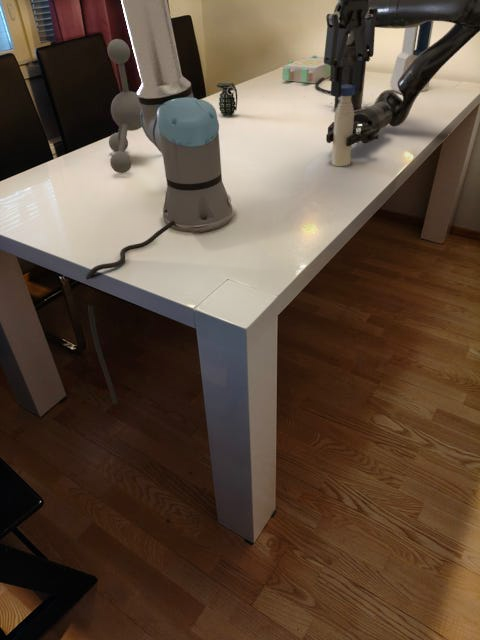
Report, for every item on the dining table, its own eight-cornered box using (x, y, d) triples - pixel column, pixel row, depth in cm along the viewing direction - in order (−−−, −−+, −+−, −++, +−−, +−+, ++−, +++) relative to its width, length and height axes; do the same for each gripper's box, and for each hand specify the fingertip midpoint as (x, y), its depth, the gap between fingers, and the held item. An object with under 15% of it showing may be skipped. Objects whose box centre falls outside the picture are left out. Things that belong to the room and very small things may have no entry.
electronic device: (398, 94, 180) (412, -3, 162) (388, 89, 186) (400, -5, 168) (428, 90, 183) (445, -6, 164) (417, 86, 188) (432, -7, 170)
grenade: (217, 117, 168) (214, 86, 162) (221, 112, 172) (219, 82, 166) (235, 117, 166) (233, 86, 160) (239, 113, 171) (238, 82, 165)
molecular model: (195, 164, 133) (181, 39, 115) (114, 179, 127) (87, 50, 109) (172, 140, 150) (157, 28, 132) (101, 152, 145) (75, 37, 126)
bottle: (333, 159, 132) (338, 87, 121) (351, 160, 130) (357, 87, 119) (330, 165, 128) (334, 92, 117) (348, 166, 127) (355, 92, 116)
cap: (344, 91, 121) (345, 83, 120) (357, 93, 119) (358, 85, 118) (334, 94, 119) (335, 87, 118) (347, 97, 117) (348, 89, 115)
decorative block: (304, 53, 218) (345, 56, 208) (304, 69, 222) (344, 73, 212) (273, 65, 202) (316, 68, 192) (273, 81, 206) (315, 86, 196)
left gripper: (334, -18, 98) (327, 103, 112) (399, -26, 106) (385, 89, 120) (309, -19, 103) (305, 97, 117) (374, -26, 111) (363, 84, 125)
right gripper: (344, 105, 135) (313, 121, 125) (393, 111, 128) (365, 129, 118) (342, 133, 140) (312, 150, 129) (389, 140, 133) (362, 160, 122)
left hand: (346, 93), depth 119 cm, fingers open, 6 cm apart
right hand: (337, 140), depth 124 cm, fingers closed on bottle, 5 cm apart
